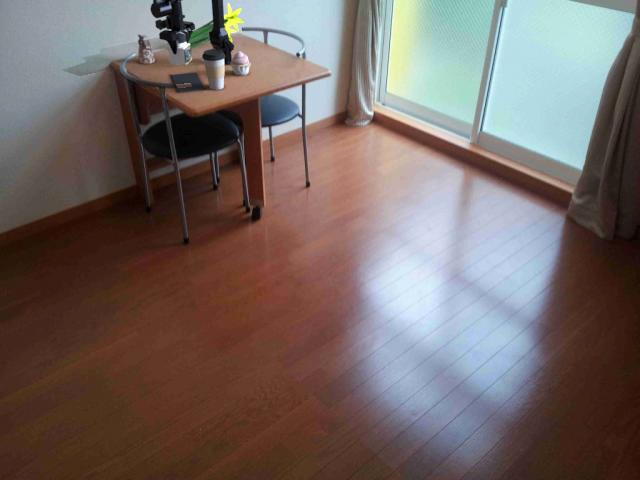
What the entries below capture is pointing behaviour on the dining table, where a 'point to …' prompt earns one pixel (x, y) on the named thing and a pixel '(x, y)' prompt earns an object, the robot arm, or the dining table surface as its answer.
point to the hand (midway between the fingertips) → (179, 51)
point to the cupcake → (240, 64)
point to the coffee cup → (214, 68)
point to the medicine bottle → (181, 51)
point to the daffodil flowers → (203, 32)
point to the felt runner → (188, 81)
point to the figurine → (145, 50)
